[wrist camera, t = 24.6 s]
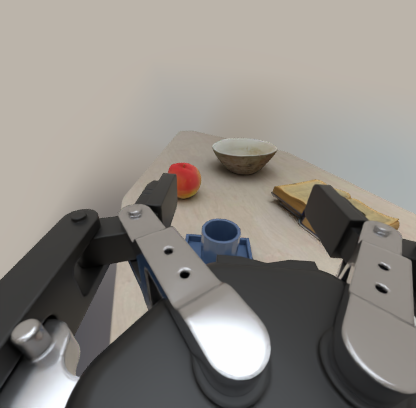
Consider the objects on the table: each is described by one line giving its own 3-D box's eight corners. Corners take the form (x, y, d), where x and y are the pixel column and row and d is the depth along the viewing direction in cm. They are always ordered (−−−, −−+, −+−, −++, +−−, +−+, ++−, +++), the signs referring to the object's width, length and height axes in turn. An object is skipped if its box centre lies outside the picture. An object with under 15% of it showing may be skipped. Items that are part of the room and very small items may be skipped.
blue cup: (198, 278, 36) (200, 241, 31) (201, 251, 41) (203, 217, 37) (235, 281, 36) (242, 244, 31) (233, 254, 41) (239, 219, 37)
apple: (187, 208, 55) (187, 174, 50) (160, 197, 59) (158, 165, 54) (206, 194, 63) (207, 162, 57) (181, 185, 67) (180, 155, 61)
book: (391, 240, 48) (405, 219, 45) (344, 259, 42) (356, 237, 39) (308, 192, 67) (314, 175, 64) (267, 200, 61) (271, 182, 58)
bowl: (198, 170, 79) (199, 143, 73) (230, 155, 95) (233, 133, 90) (254, 189, 67) (260, 159, 62) (280, 168, 84) (286, 144, 79)
